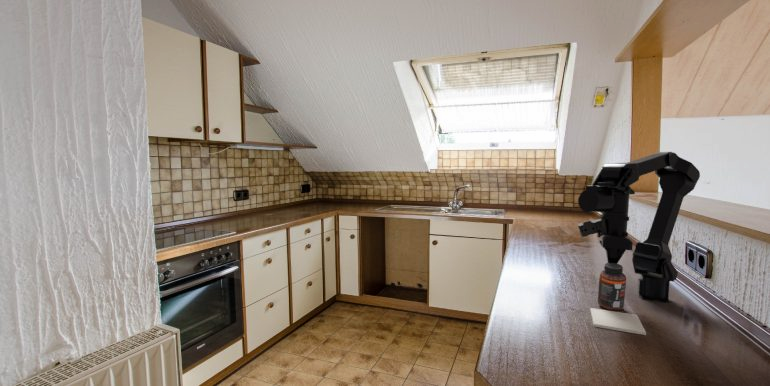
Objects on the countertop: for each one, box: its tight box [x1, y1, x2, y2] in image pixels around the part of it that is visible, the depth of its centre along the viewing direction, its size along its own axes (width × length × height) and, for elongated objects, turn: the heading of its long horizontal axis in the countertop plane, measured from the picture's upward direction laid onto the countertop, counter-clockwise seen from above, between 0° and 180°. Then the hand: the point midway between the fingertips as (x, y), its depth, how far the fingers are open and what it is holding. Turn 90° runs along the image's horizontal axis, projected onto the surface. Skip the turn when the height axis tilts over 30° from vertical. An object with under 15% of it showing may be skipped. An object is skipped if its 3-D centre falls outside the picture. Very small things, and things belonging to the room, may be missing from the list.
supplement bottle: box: [597, 262, 627, 311], centre depth 96 cm, size 6×6×11 cm
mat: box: [589, 307, 647, 336], centre depth 88 cm, size 10×11×1 cm
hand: (611, 269), depth 98 cm, fingers closed
